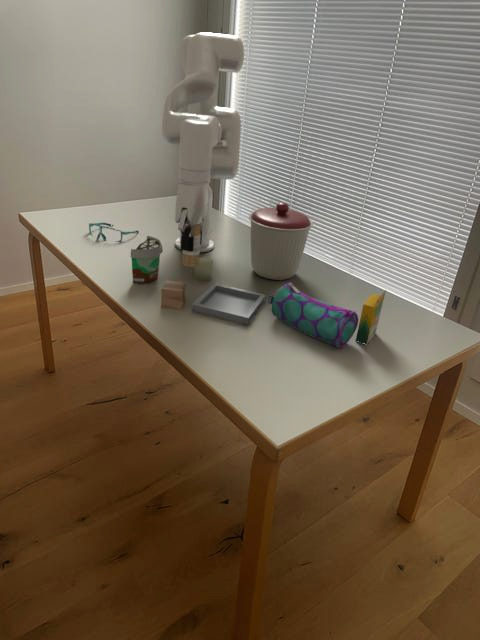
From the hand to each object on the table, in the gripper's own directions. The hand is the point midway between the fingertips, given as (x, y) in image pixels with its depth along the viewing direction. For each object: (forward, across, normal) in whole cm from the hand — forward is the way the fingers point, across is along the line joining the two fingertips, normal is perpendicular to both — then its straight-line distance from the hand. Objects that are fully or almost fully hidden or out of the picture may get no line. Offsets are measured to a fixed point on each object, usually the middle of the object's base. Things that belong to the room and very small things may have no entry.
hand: (191, 246), depth 127 cm
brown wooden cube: (+12, +10, 0) cm, 16 cm away
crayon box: (+11, +4, +47) cm, 49 cm away
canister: (+12, -22, +17) cm, 31 cm away
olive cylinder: (+12, -8, 0) cm, 15 cm away
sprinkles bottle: (+5, 0, 0) cm, 5 cm away
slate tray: (+12, +5, +13) cm, 18 cm away
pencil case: (+12, +7, +34) cm, 37 cm away
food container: (+12, 0, -12) cm, 17 cm away
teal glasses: (+13, -26, -39) cm, 48 cm away
